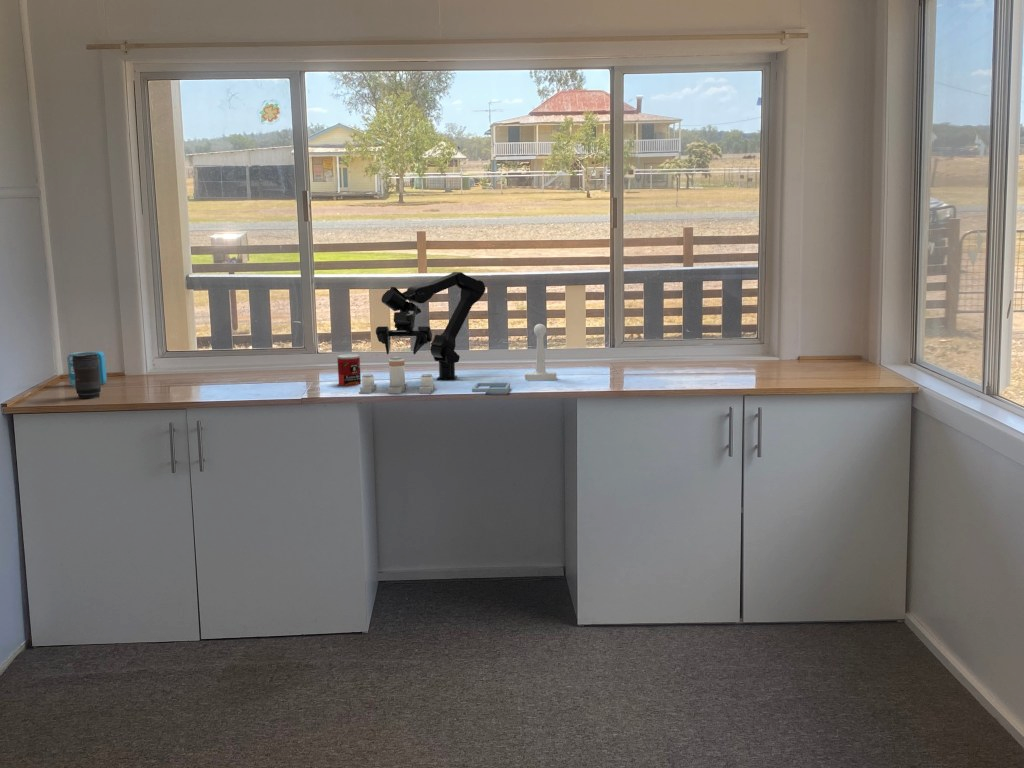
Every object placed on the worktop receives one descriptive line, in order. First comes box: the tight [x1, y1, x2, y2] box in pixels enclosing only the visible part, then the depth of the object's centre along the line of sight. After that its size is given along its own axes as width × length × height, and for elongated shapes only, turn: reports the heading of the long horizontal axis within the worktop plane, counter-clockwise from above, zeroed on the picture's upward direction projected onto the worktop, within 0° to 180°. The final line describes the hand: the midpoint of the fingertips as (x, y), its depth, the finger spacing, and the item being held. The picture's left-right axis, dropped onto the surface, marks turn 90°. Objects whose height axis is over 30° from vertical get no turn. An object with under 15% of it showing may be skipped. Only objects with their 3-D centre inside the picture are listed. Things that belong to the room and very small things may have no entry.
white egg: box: [361, 373, 375, 392], centre depth 340 cm, size 4×4×6 cm
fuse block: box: [358, 383, 438, 395], centre depth 339 cm, size 9×25×3 cm, turn 83°
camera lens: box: [72, 351, 102, 399], centre depth 344 cm, size 8×8×15 cm
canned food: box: [337, 353, 362, 387], centre depth 354 cm, size 8×8×11 cm
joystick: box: [524, 323, 557, 381], centre depth 362 cm, size 11×8×20 cm
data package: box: [66, 350, 108, 387], centre depth 370 cm, size 12×4×12 cm, turn 98°
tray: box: [471, 382, 511, 396], centre depth 340 cm, size 12×12×2 cm
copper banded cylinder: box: [388, 355, 406, 392], centre depth 338 cm, size 5×5×12 cm
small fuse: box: [420, 373, 434, 393], centre depth 337 cm, size 4×4×6 cm
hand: (400, 353), depth 343 cm, fingers open, 9 cm apart
